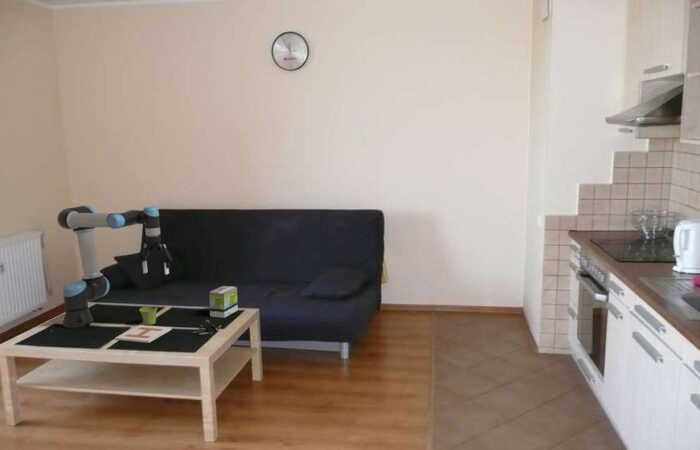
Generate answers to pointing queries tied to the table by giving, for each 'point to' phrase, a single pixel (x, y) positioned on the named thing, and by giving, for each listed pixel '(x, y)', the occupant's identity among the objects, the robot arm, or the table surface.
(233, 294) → the tea box
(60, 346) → the table surface
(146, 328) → the letter board
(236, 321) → the table surface
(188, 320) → the table surface
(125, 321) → the table surface
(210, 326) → the stuffed animal
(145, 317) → the plant pot
